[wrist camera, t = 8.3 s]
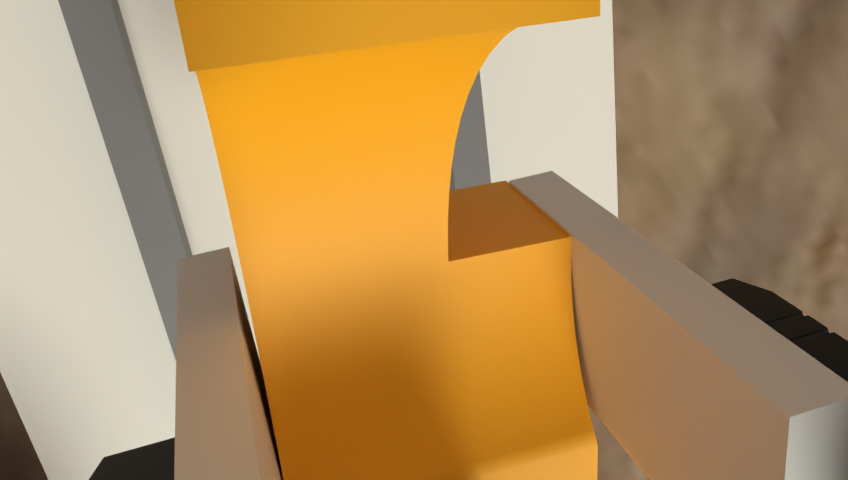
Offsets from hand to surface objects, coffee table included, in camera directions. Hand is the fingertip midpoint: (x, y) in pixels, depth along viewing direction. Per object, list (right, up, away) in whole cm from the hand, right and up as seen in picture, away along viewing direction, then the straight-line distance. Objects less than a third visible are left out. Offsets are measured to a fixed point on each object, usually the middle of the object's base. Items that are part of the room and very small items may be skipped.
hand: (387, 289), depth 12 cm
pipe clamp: (0, +1, 0) cm, 1 cm away
